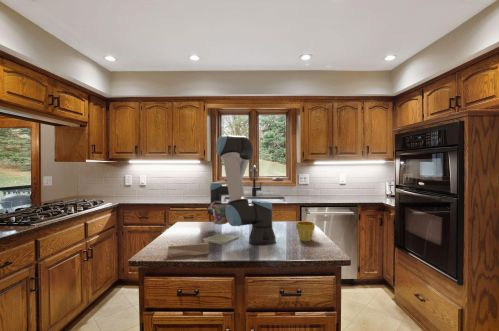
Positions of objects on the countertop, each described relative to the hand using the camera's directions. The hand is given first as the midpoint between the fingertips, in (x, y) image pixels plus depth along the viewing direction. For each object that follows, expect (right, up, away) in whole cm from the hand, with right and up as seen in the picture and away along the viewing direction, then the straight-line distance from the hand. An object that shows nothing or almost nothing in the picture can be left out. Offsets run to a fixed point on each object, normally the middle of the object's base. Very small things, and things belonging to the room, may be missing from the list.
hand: (221, 213), depth 157 cm
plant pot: (+48, -16, +2) cm, 51 cm away
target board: (-1, -16, +5) cm, 17 cm away
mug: (-1, -7, +5) cm, 8 cm away
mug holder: (-16, -16, -13) cm, 26 cm away
